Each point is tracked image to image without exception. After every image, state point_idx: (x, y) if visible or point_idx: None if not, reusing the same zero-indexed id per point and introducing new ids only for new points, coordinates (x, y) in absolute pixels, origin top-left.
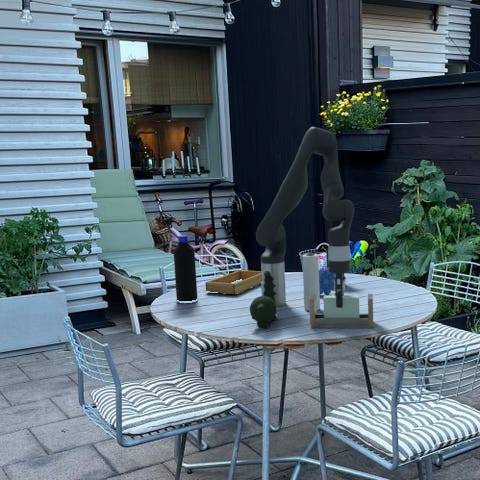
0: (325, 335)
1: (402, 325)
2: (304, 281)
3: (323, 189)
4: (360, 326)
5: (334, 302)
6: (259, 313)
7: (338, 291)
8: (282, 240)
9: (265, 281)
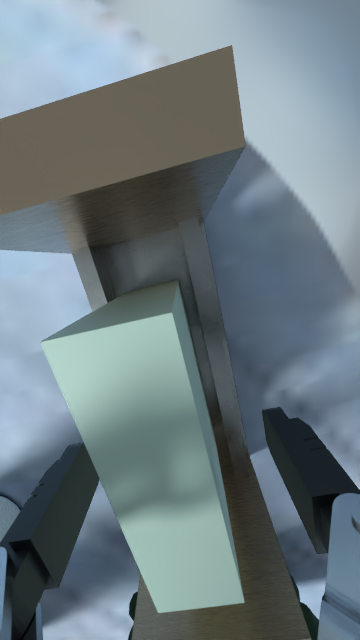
0: (345, 382)
1: (91, 15)
2: None
3: None
4: (211, 266)
5: (220, 490)
6: None
7: (55, 578)
8: None
9: None
